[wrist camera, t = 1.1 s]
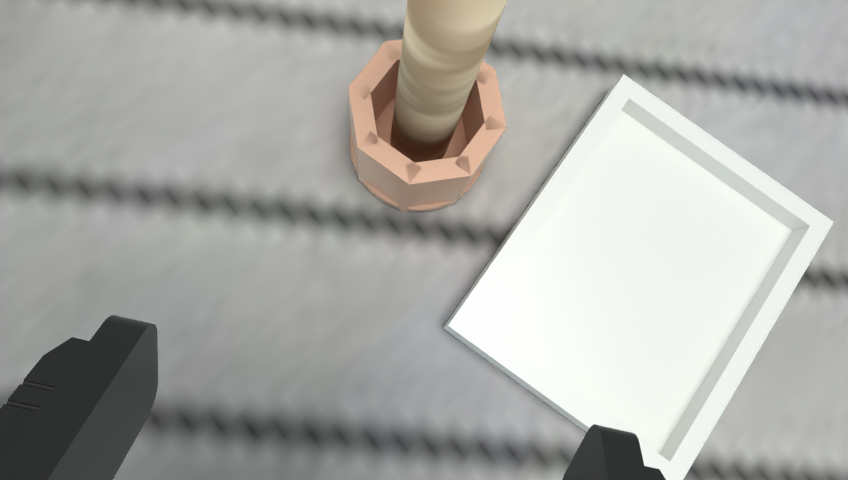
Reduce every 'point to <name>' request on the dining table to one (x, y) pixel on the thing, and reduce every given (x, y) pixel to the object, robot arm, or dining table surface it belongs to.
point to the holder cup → (395, 172)
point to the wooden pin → (438, 71)
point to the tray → (641, 278)
